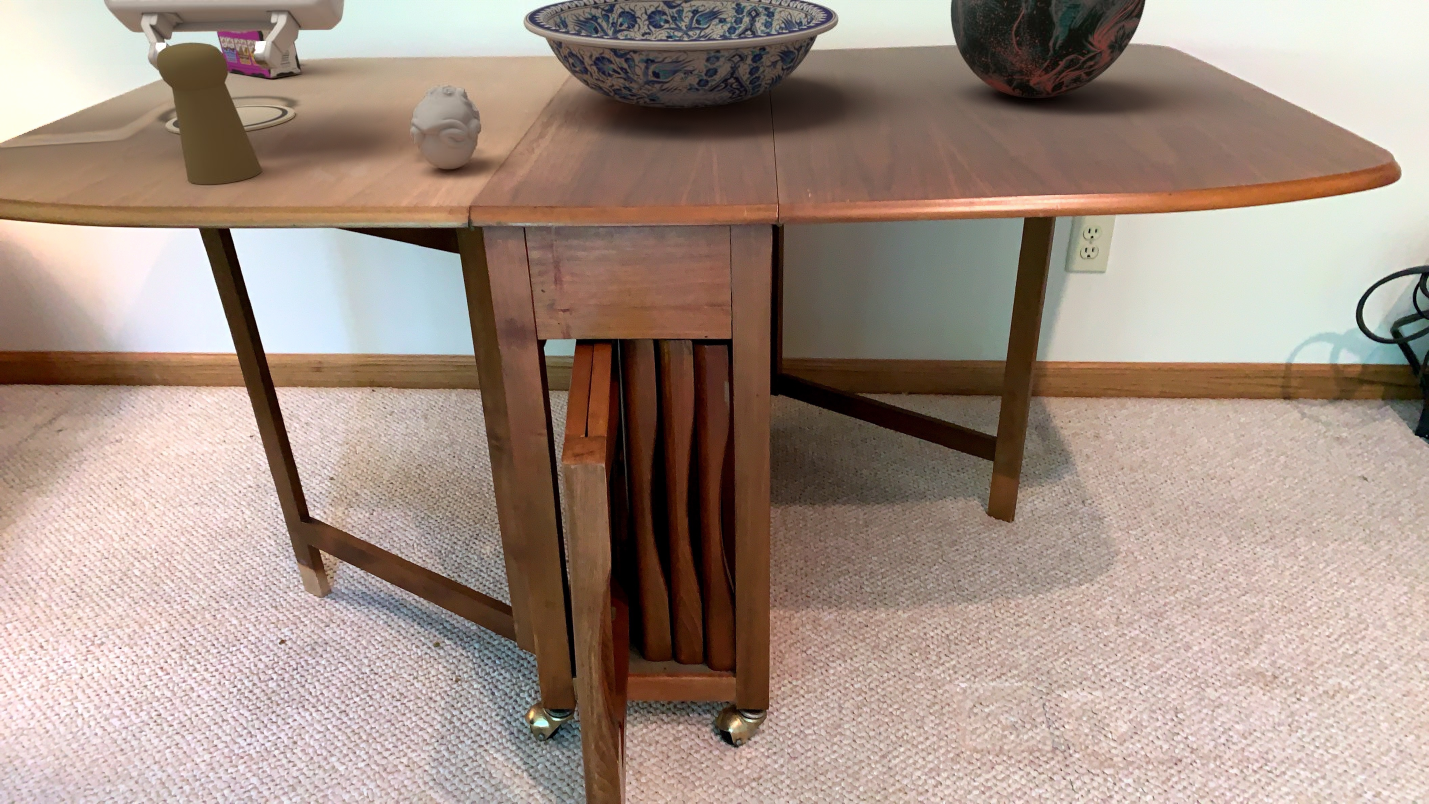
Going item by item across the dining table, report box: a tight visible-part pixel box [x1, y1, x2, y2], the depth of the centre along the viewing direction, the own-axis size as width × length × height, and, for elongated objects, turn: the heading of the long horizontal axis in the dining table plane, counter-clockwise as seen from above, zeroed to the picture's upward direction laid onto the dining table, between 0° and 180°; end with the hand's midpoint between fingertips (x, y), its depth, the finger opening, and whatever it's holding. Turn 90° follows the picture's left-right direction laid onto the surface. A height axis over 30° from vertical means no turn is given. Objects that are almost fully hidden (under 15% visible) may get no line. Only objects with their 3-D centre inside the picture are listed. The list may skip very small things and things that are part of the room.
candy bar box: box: [216, 31, 302, 79], centre depth 119 cm, size 11×5×16 cm, turn 55°
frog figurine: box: [409, 84, 482, 170], centre depth 79 cm, size 6×7×7 cm
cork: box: [157, 42, 263, 185], centre depth 77 cm, size 6×6×11 cm
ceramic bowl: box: [523, 0, 839, 109], centre depth 100 cm, size 34×34×10 cm
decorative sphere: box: [950, 0, 1147, 99], centre depth 97 cm, size 20×20×20 cm
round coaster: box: [165, 104, 296, 135], centre depth 98 cm, size 13×13×1 cm
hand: (213, 66), depth 78 cm, fingers open, 8 cm apart
